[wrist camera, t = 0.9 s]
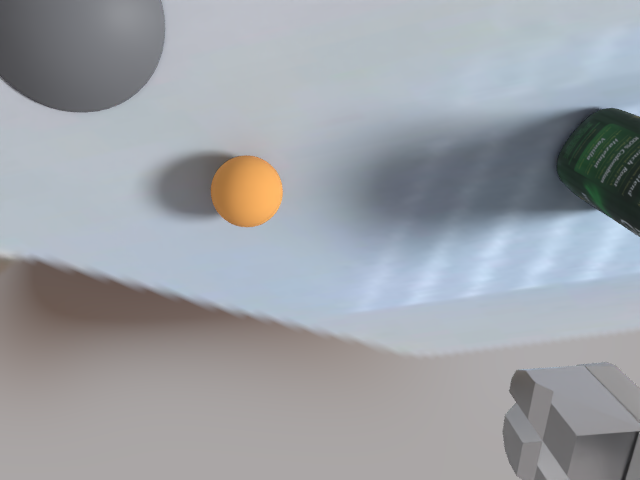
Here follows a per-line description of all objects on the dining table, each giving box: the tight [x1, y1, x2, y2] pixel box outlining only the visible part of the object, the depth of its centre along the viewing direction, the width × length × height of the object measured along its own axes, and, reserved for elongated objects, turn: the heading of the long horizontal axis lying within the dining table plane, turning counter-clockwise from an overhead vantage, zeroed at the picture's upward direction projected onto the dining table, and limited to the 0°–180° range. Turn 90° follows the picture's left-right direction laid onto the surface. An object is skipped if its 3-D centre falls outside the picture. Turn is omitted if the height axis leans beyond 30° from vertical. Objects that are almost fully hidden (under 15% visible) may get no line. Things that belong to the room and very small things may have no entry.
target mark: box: [0, 0, 165, 112], centre depth 39 cm, size 13×13×1 cm
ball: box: [211, 156, 283, 227], centre depth 43 cm, size 6×6×6 cm
